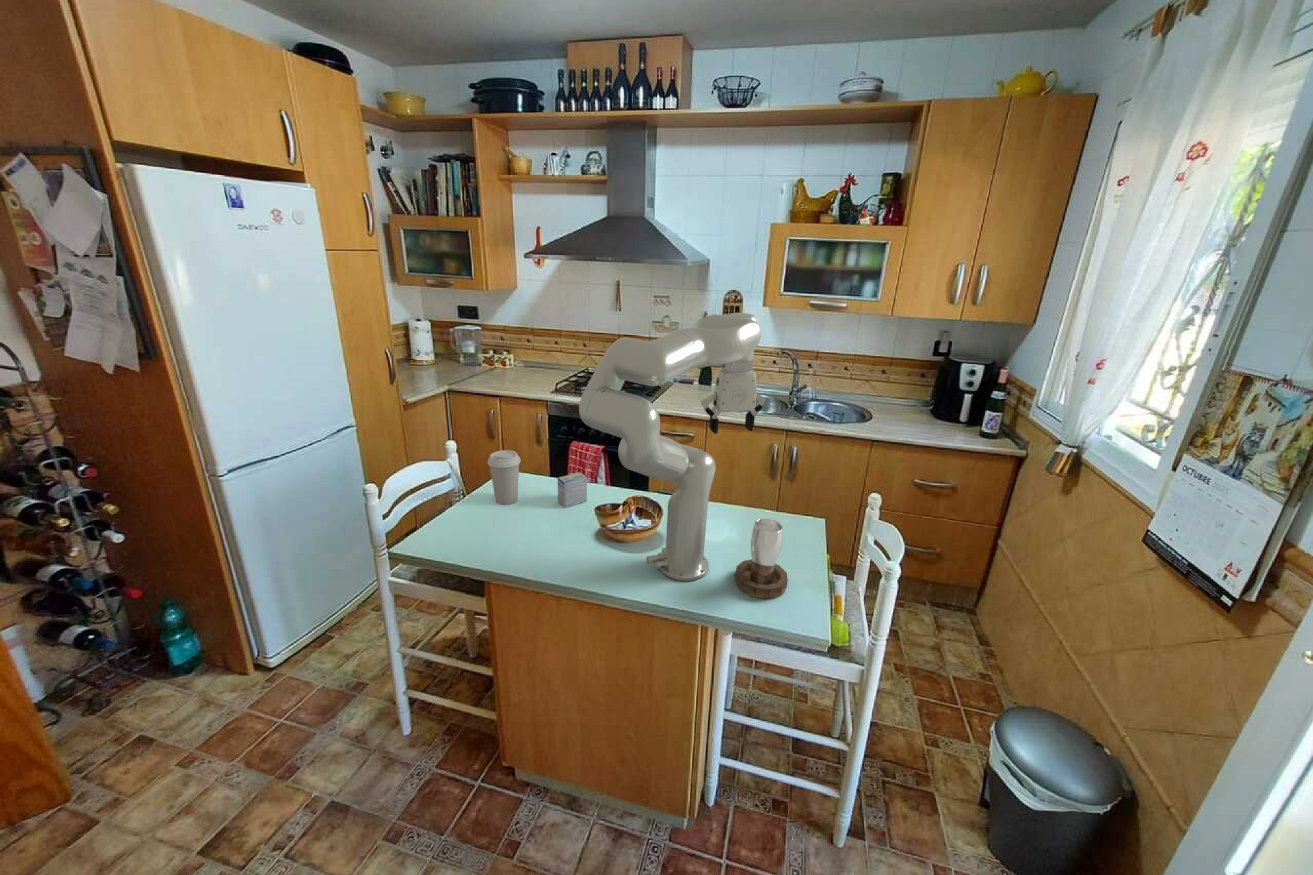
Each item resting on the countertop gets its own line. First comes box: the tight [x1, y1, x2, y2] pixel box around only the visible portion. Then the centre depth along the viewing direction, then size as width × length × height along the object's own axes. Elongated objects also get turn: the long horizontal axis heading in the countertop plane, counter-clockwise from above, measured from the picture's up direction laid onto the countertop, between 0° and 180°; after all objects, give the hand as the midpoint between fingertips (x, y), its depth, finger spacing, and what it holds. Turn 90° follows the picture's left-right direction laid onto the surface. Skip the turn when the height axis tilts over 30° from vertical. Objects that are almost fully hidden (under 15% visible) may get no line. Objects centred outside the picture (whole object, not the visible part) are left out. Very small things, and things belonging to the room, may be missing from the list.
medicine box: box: [557, 472, 588, 509], centre depth 158 cm, size 8×4×9 cm, turn 130°
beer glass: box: [748, 518, 784, 585], centre depth 122 cm, size 7×7×15 cm
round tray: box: [734, 558, 789, 600], centre depth 124 cm, size 12×12×3 cm
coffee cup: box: [487, 449, 522, 506], centre depth 156 cm, size 10×10×15 cm
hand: (731, 430), depth 132 cm, fingers open, 9 cm apart
